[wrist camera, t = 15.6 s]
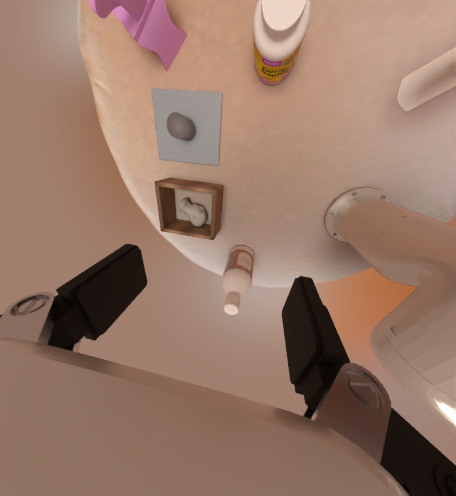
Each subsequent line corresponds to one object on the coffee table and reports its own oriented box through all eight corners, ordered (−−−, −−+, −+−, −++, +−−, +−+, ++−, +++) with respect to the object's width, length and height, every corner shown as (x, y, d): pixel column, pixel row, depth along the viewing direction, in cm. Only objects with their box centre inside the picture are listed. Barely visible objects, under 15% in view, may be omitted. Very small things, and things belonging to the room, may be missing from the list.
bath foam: (258, 252, 46) (256, 308, 29) (245, 268, 50) (237, 326, 33) (237, 240, 46) (223, 290, 29) (226, 257, 49) (207, 311, 32)
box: (223, 185, 39) (216, 190, 33) (219, 228, 45) (213, 240, 39) (170, 177, 40) (154, 181, 34) (173, 221, 46) (160, 231, 40)
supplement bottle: (255, 89, 30) (252, 51, 19) (254, 36, 27) (249, -48, 16) (294, 81, 28) (315, 34, 17) (297, 23, 25) (325, -79, 14)
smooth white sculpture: (211, 215, 45) (198, 227, 46) (191, 192, 42) (177, 205, 43) (211, 218, 41) (196, 231, 42) (189, 192, 38) (173, 206, 39)
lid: (223, 94, 31) (215, 82, 26) (219, 165, 38) (212, 166, 32) (154, 90, 33) (134, 77, 28) (161, 159, 39) (146, 159, 34)
